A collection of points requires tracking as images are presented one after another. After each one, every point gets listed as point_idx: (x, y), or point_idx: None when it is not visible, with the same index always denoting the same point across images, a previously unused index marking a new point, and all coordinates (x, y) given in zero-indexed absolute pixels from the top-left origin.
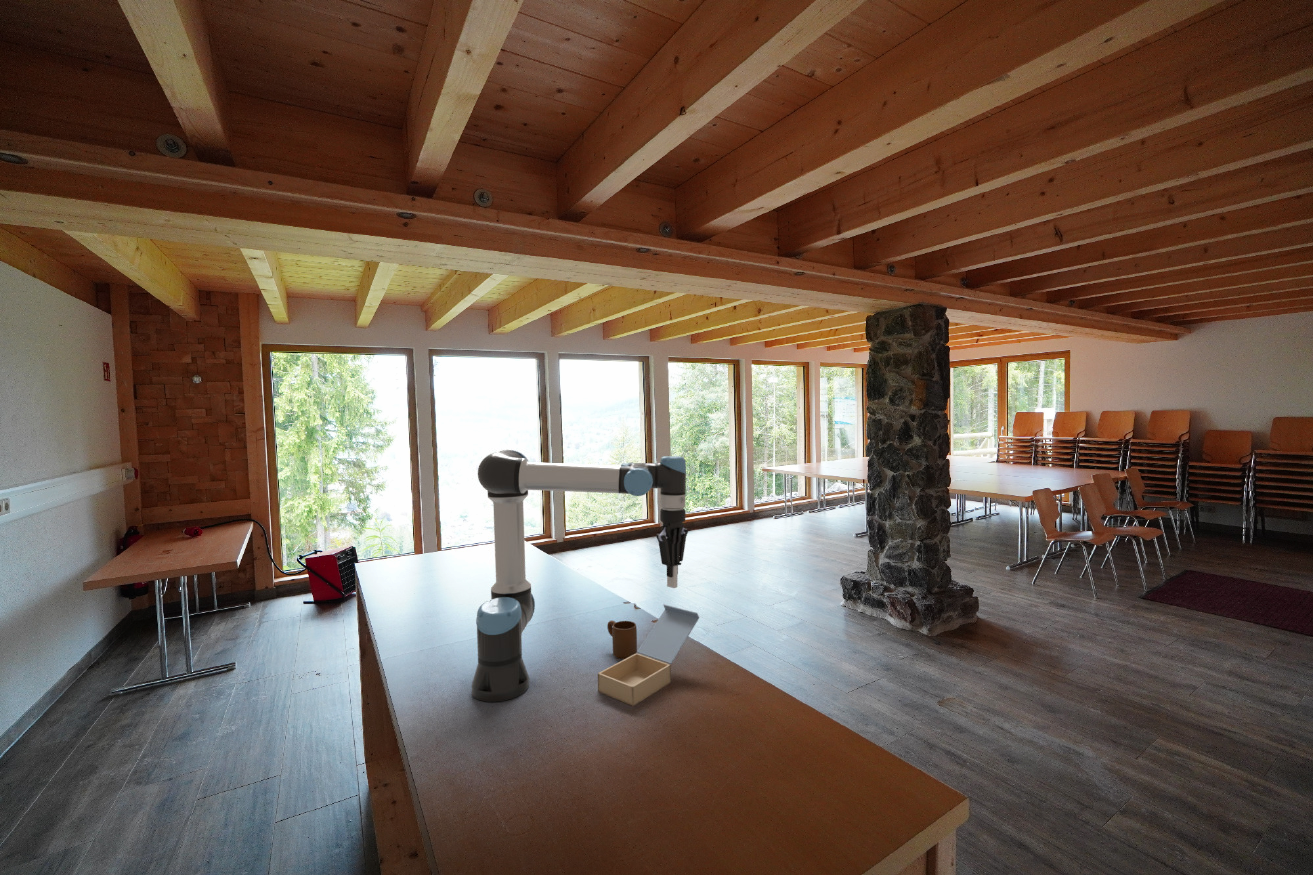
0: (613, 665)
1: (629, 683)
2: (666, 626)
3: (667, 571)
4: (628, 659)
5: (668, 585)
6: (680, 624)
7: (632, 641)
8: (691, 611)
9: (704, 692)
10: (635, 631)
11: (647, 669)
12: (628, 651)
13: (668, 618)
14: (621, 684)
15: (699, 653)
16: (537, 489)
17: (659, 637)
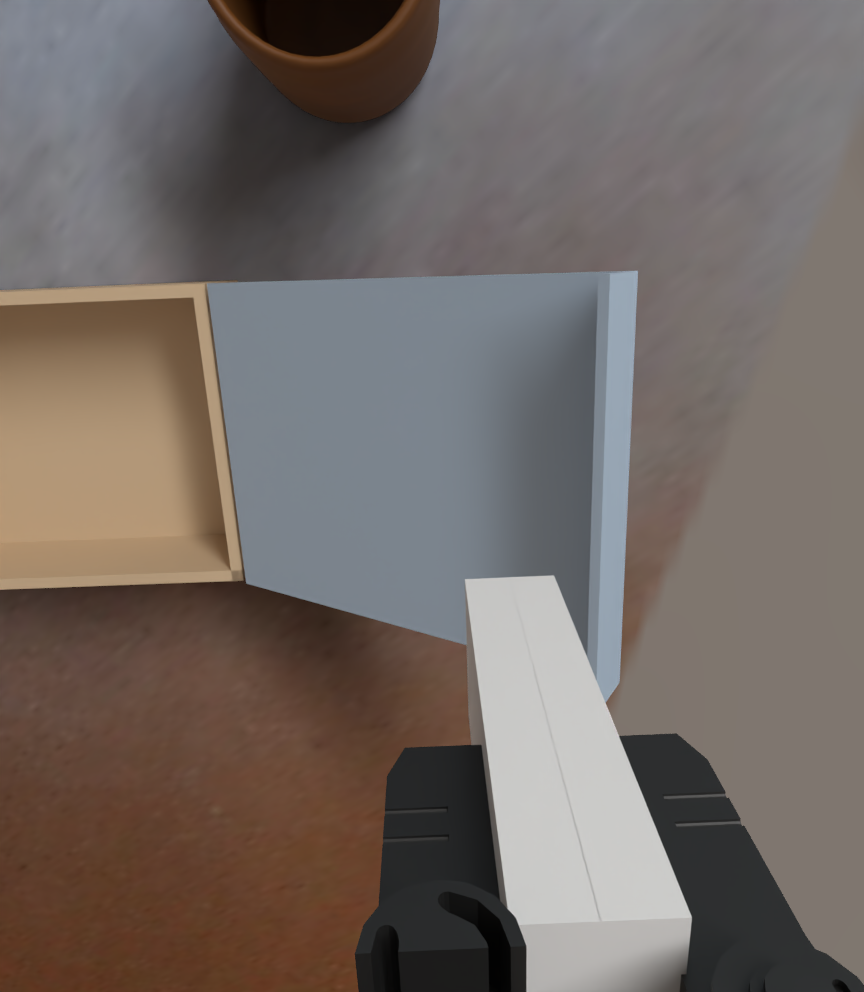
0: None
1: (76, 383)
2: (447, 409)
3: (381, 873)
4: (106, 300)
5: (467, 617)
6: (499, 537)
7: (322, 100)
8: (596, 656)
9: (308, 715)
10: (359, 78)
11: None
12: (296, 103)
13: (525, 383)
14: None
15: (677, 439)
16: None
17: (347, 403)
